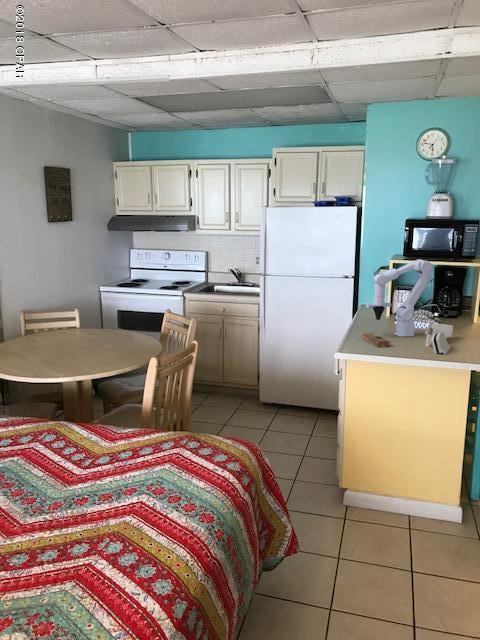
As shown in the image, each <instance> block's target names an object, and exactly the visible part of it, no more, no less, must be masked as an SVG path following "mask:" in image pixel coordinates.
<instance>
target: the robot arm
mask: <svg viewBox="0 0 480 640" xmlns="http://www.w3.org/2000/svg"><path fill="white" fill-rule="evenodd" d="M432 270H433V265H432V263H431V262H430V261H428V260H423V259H421V258H418V259H416V260H413V261H411V262H409V263H407V264H404V265H402V266H401V267H399V268H397V269H396V268H392V267H390V268H389V269H388V270H387V271H385V272H384V271H383V272H381V273H378V274H376V275H375V276H374V277H373V278H372V280H373V283H374V290H373V292H374V293H373V294H374V295H373V302H370V303H366V305H365V307H366V308H367V309H370V308H372V309H373V312H374V315H375V320H377V321H380V320H381V318H382V315H383V313H384V311H385V309H386V308H385V307H388V308H390V307H391V308H392V303H391V302H385V295H386V294H385V293H386V285H387V283H389V282H391V281H394V280H396V279H398V278H399V276H400V275H402V274H404V273H407V272H411V271H416V272H417V274H418V280H417V281H416V283H415V284H414V286H413V288H412V290H411V291H410V292H409V294H408V296H407V298H406V299H405V301H404V302H402V303H401V304H400V306H398V307H397V308H396V310H395V315H396V327H395V328H396V329H395V332H392V334H393V335H396V336H398V337H402V338H403V337H414V336H415V325H416V324H415V321H414V319H412V318H413V316H414V315H413V314H414V311H415V308H414V307H415V305H416V303H417V302H418V301H419V299H420V297H421V295H422V293H423V291H424V290H425V288H427V286H428V283H429V281H430V280H431V276H432V275H431V274H432Z"/></svg>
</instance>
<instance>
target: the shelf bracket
mask: <svg viewBox="0 0 480 640" xmlns="http://www.w3.org/2000/svg"><path fill="white" fill-rule="evenodd" d="M453 331H454V326H453V325H450V324H443V323H434V322H429V323H428V327H425V331H424V333H425V335H426V340H425V345H424V346H425V347H430V345H432V342H431V340H432V336H433V335H434V334H436V333H444V334H445V337H446V340H447V339H448V338H452V335H453Z"/></svg>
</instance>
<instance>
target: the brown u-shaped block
mask: <svg viewBox="0 0 480 640" xmlns="http://www.w3.org/2000/svg"><path fill="white" fill-rule="evenodd" d="M376 334H377V333H375V332H370V333H362V334H361V335H362V336H361V340H363V341H365V342H366V343H369V344H370V345H372V346H375V347H377V348H386V347H389V348H390V347H391V340H390V339H387V338H385V337H383V338H379V339H377V338H375V337H373V335H376Z"/></svg>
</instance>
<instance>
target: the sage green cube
mask: <svg viewBox="0 0 480 640" xmlns="http://www.w3.org/2000/svg"><path fill="white" fill-rule="evenodd" d="M375 334H376V335H373V337H375V338H377V339H379V338H384V336H383V335H381V334H377V333H375Z"/></svg>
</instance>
